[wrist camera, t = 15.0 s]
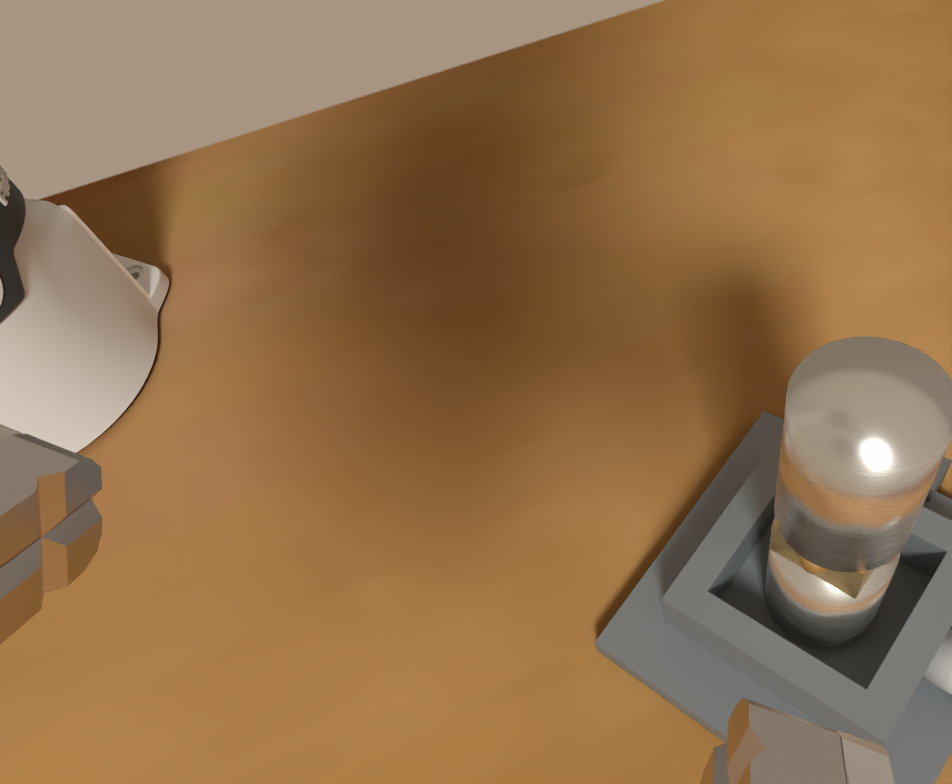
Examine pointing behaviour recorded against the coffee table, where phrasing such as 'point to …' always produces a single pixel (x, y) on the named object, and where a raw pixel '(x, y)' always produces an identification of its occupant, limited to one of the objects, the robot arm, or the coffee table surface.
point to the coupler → (851, 482)
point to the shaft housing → (772, 651)
